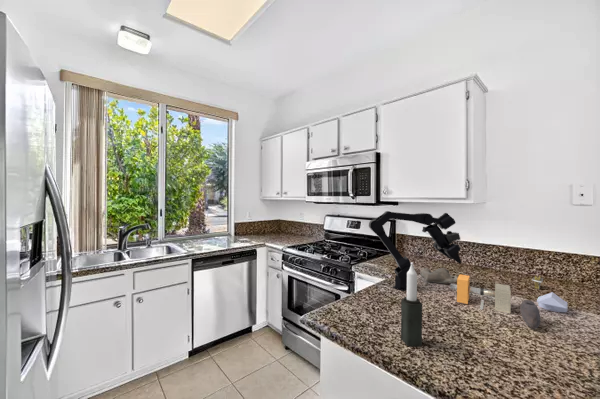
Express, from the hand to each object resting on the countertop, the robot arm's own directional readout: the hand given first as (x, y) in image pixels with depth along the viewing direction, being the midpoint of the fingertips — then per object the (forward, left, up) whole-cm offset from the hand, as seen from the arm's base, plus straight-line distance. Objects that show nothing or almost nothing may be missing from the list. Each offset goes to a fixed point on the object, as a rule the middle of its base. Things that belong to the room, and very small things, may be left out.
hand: (456, 260), depth 132 cm
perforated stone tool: (-14, -33, -15) cm, 39 cm away
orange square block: (-10, -8, -15) cm, 20 cm away
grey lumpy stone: (+8, +13, -15) cm, 22 cm away
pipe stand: (-8, -14, -15) cm, 22 cm away
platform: (+45, -20, -16) cm, 51 cm away
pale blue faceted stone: (+12, -33, -15) cm, 38 cm away
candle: (-63, -17, -15) cm, 67 cm away
